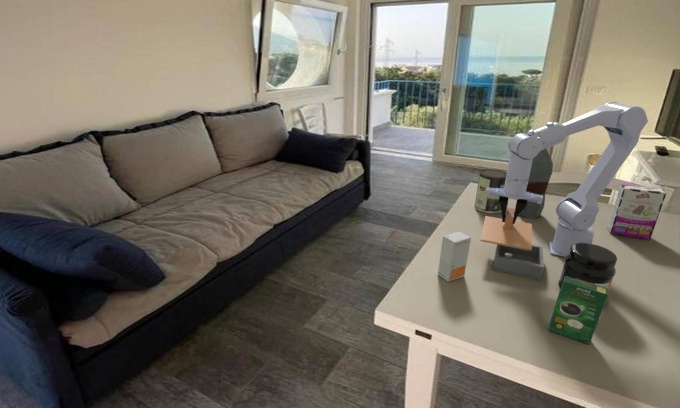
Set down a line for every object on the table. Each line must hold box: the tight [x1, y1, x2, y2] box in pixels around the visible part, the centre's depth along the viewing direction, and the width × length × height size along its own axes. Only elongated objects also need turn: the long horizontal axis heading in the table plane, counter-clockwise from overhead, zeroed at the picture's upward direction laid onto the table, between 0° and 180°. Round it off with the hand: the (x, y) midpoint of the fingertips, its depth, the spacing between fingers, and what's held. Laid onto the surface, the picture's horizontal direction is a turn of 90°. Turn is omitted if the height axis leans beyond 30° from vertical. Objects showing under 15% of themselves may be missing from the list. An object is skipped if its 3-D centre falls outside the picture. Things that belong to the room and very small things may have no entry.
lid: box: [479, 206, 533, 251], centre depth 107 cm, size 13×13×6 cm
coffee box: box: [548, 276, 609, 345], centre depth 78 cm, size 8×3×13 cm, turn 57°
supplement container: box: [557, 243, 618, 292], centre depth 92 cm, size 10×10×12 cm
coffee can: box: [473, 168, 507, 214], centre depth 141 cm, size 10×10×14 cm
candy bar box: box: [607, 183, 667, 241], centre depth 121 cm, size 11×5×16 cm, turn 68°
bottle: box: [519, 148, 554, 219], centre depth 133 cm, size 9×9×30 cm
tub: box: [492, 244, 545, 281], centre depth 106 cm, size 12×12×4 cm
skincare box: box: [437, 231, 472, 283], centre depth 99 cm, size 6×4×12 cm
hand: (508, 221), depth 109 cm, fingers closed on lid
